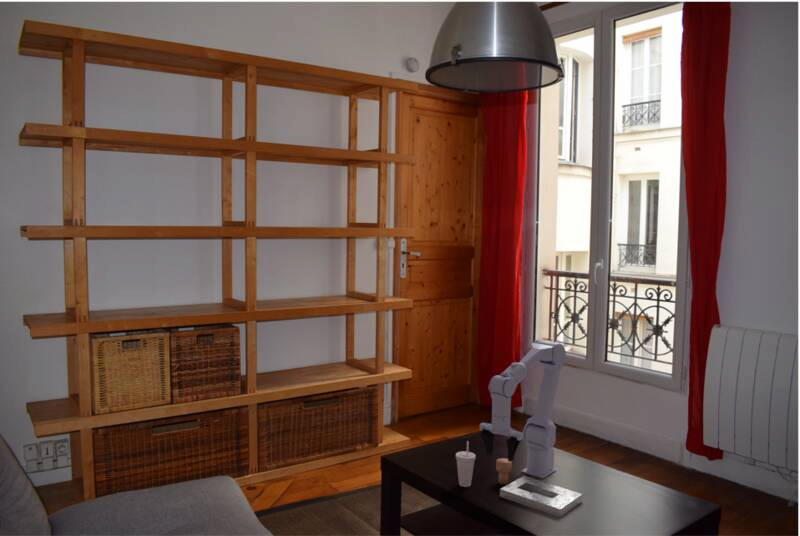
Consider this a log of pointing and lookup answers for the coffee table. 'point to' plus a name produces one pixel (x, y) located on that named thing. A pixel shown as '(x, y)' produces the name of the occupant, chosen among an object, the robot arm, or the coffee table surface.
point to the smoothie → (465, 466)
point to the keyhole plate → (541, 496)
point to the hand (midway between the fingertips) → (500, 457)
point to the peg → (503, 469)
